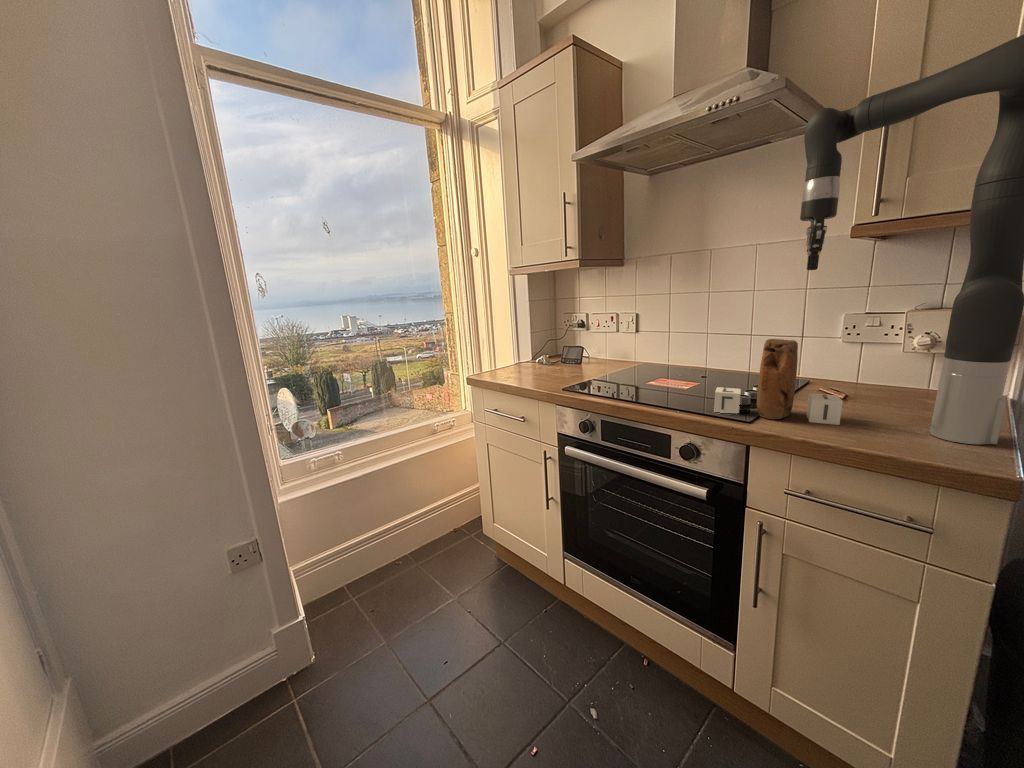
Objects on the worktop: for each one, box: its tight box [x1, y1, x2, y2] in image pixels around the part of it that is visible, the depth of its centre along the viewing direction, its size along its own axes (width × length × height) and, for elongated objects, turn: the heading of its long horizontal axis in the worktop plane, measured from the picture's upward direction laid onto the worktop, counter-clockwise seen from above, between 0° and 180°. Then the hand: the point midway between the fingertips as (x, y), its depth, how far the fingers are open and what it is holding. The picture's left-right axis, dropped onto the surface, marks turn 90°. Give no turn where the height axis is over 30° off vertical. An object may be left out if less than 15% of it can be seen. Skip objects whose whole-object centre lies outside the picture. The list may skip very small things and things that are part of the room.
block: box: [756, 338, 799, 420], centre depth 107 cm, size 11×8×20 cm
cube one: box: [806, 393, 844, 426], centre depth 103 cm, size 6×6×6 cm
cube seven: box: [713, 386, 742, 414], centre depth 114 cm, size 6×6×6 cm
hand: (811, 270), depth 108 cm, fingers closed
